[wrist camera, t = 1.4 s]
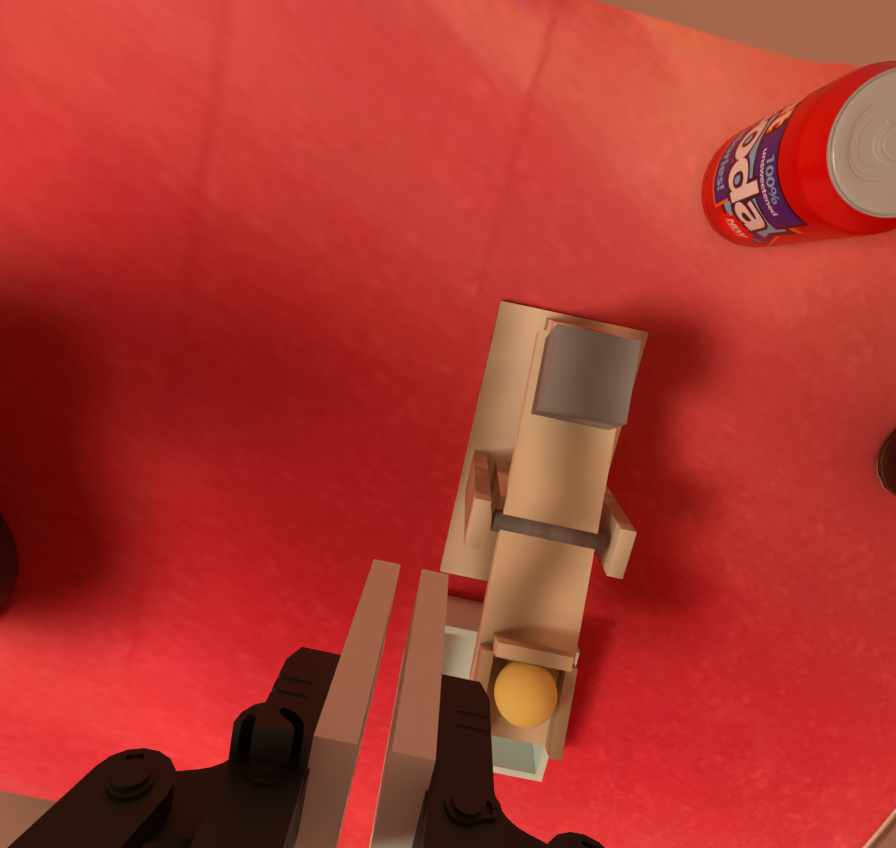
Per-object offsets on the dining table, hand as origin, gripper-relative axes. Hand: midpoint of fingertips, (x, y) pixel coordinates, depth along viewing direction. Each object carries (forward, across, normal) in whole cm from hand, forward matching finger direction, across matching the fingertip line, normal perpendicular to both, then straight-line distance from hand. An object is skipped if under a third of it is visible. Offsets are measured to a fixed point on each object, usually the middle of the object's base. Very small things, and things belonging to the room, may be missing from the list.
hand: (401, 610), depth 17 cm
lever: (+20, +8, -5) cm, 22 cm away
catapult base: (+30, +8, -3) cm, 32 cm away
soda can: (+31, +18, +19) cm, 40 cm away
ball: (+15, +8, -13) cm, 21 cm away
